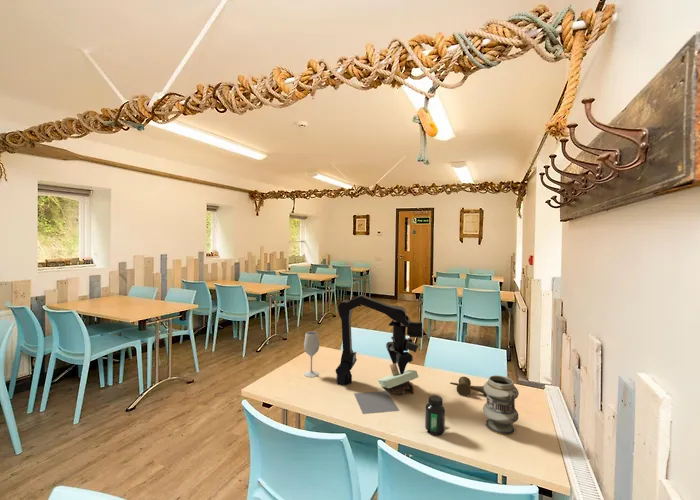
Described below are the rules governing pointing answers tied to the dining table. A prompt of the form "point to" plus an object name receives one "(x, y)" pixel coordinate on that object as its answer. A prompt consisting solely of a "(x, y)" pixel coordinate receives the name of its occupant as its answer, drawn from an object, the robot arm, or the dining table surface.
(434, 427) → the supplement bottle
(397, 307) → the robot arm
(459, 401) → the dining table surface
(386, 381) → the lid
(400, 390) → the pottery mug
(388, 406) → the mat
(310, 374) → the wineglass
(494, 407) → the apothecary jar
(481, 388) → the kendama
